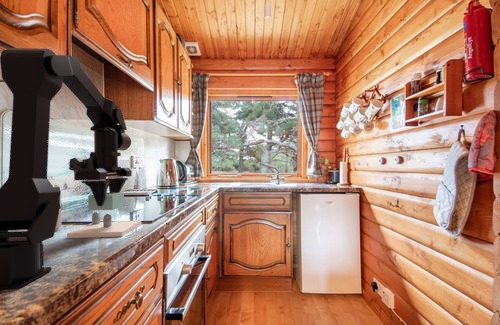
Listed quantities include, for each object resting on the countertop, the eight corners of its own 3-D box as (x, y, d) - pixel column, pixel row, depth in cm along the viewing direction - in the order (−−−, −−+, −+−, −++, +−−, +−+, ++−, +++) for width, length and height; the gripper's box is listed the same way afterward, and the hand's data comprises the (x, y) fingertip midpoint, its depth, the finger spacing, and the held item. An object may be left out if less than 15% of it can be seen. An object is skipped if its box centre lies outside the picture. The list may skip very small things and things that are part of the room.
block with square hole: (112, 209, 66) (112, 195, 66) (88, 210, 65) (88, 195, 65) (123, 205, 72) (123, 192, 72) (101, 206, 72) (101, 192, 72)
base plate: (122, 236, 63) (122, 218, 63) (67, 237, 63) (66, 219, 63) (141, 224, 75) (141, 209, 75) (94, 225, 75) (94, 210, 75)
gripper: (96, 151, 78) (97, 199, 78) (51, 146, 59) (52, 211, 59) (131, 150, 78) (132, 198, 78) (98, 146, 60) (98, 209, 60)
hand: (107, 203), depth 69 cm, fingers closed on block with square hole, 6 cm apart
